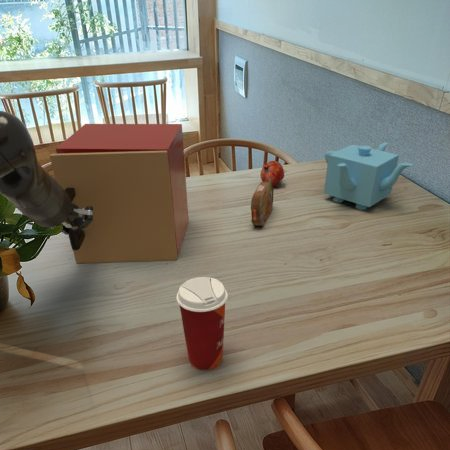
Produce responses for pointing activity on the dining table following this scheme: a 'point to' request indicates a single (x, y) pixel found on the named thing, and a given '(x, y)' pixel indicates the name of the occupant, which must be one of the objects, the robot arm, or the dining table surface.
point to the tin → (262, 203)
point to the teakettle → (361, 174)
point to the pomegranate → (272, 173)
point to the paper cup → (203, 320)
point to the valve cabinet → (140, 141)
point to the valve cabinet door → (120, 205)
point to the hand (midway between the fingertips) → (73, 229)
